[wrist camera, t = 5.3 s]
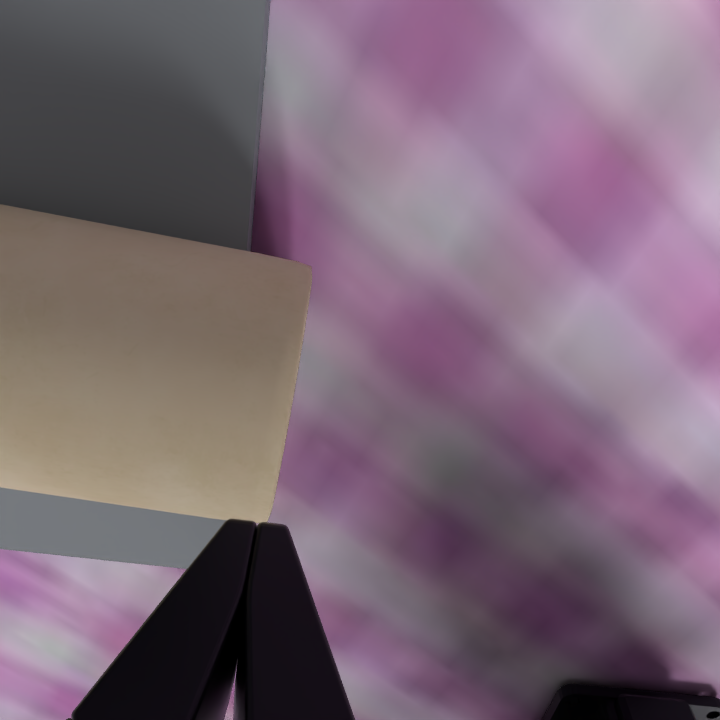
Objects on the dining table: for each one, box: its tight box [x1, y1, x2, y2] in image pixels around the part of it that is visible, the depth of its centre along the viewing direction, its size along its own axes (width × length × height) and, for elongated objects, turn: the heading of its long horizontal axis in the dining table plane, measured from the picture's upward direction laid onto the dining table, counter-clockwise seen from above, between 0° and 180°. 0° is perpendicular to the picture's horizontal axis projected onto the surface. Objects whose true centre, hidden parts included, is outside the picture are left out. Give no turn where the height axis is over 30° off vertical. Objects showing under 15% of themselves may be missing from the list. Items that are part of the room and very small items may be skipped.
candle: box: [0, 204, 312, 523], centre depth 14 cm, size 6×6×10 cm
